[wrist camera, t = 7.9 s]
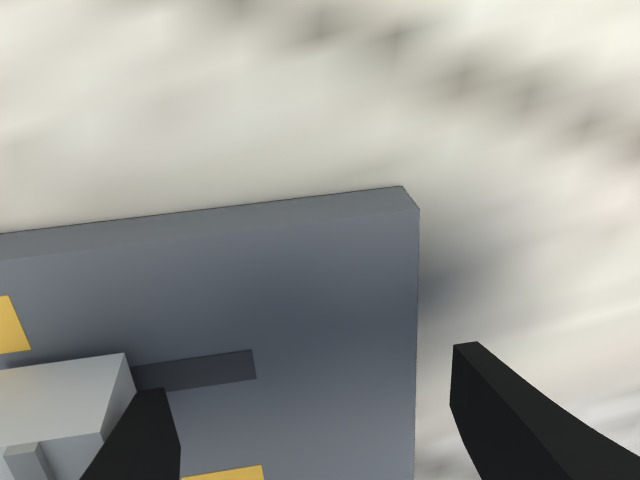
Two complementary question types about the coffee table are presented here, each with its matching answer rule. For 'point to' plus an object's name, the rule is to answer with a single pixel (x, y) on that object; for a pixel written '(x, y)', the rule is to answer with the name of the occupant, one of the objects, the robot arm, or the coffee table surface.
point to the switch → (60, 415)
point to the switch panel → (241, 327)
